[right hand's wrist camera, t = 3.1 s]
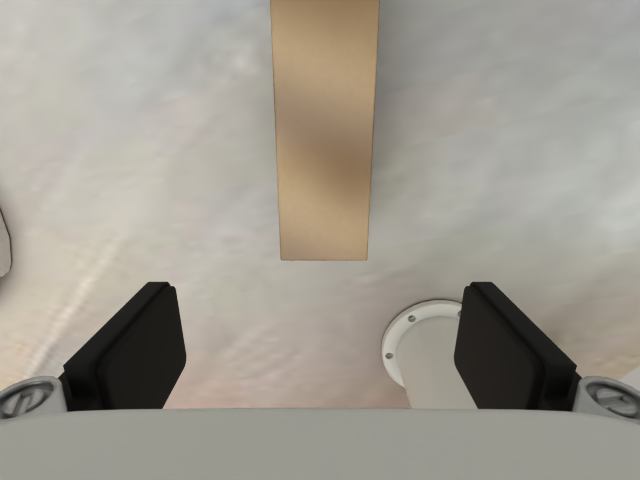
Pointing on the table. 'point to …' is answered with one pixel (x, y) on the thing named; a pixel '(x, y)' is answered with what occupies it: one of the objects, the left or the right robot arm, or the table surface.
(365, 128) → the tan elongated box
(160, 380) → the right robot arm
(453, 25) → the table surface
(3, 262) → the ashtray
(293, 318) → the table surface
